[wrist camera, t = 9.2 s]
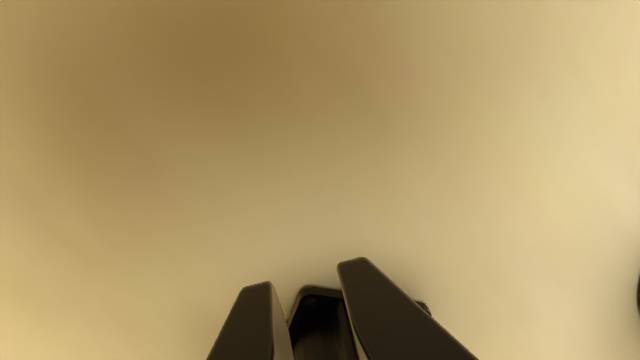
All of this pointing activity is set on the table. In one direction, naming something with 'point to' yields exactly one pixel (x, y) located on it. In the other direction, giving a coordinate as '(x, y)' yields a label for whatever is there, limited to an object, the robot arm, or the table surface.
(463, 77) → the table surface
